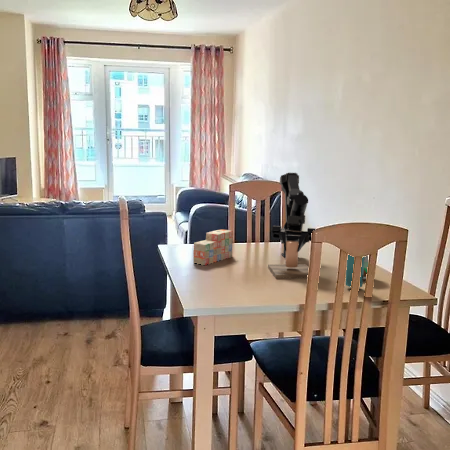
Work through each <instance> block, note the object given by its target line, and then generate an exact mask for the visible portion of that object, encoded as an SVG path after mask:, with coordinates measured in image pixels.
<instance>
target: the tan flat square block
mask: <svg viewBox="0 0 450 450" xmlns="http://www.w3.org/2000/svg"><path fill="white" fill-rule="evenodd" d="M308 267H309V266H308V265H307V264H306V263H304V264H303V263H298V267H295V268H290V267H286V266H285V263H284V264H283V263H282V264H280V263H279V264H268V266H267V268H268V270H269V271H270V273H271V274H272V276H273V277H274V278H275V279H276V280H277V279H279V280H280V279H284V280H285V279H308V278H307V275H308Z"/></svg>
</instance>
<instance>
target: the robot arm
mask: <svg viewBox="0 0 450 450" xmlns="http://www.w3.org/2000/svg"><path fill="white" fill-rule="evenodd" d="M299 184H300V175H299V174H298V173H297V172H286V173H285V174H282V175H280V176H279V185H280V188H281V189H280V190H281V191H282V192H283V194H284V199H285V200H284V202H285V205H284V207H285V223H284V225H283V227H282V226H281V225H272V226H271V228H270V233H271V238H272V239H279V241H280V243H281V244H283V252H281V255H282V257H283V258H286V241H298V242H299V245H298V253H299V252H300V251H301V250H302V248H303V247H304V245H306V243H309V242H312V241H311V233H312V231H313V230H315V229H316V228H312V227H307V230H303V226H304V224H306V214H305V213H306V210H307V206H308V203H309V198H308V197H307V195H306V194H304V192H303V191H302V190H301V189H300V186H299Z"/></svg>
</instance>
